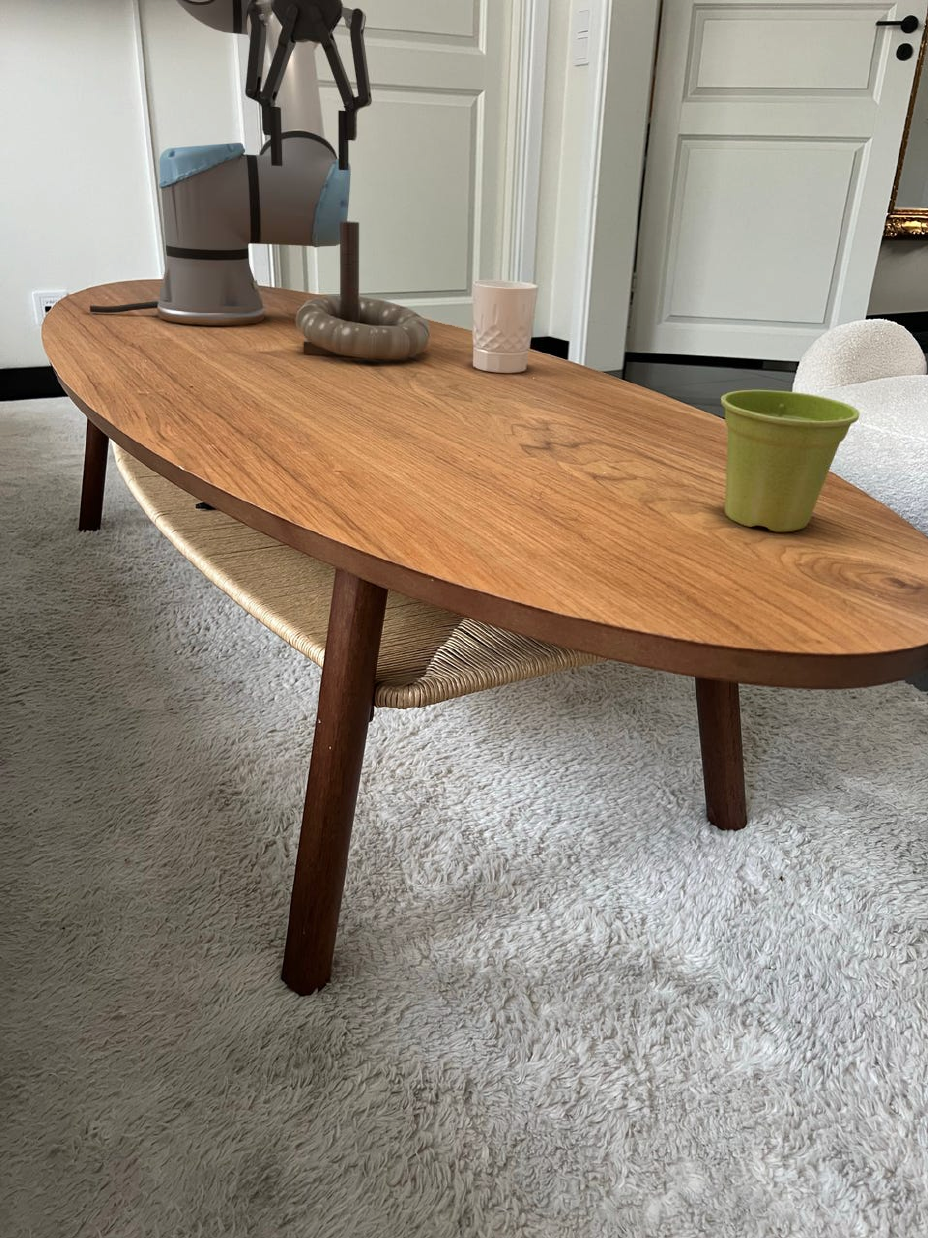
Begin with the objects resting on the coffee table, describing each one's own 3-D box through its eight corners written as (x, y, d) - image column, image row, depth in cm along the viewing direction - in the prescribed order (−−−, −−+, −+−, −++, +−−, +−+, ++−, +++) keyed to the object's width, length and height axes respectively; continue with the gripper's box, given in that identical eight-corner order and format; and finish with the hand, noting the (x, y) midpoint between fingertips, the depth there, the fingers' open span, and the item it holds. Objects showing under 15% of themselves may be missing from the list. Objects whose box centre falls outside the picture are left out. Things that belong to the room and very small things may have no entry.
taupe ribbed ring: (283, 349, 110) (285, 315, 107) (310, 314, 124) (312, 284, 122) (421, 372, 110) (426, 340, 108) (432, 335, 125) (436, 306, 123)
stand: (303, 353, 115) (300, 220, 108) (320, 340, 123) (318, 217, 117) (381, 359, 114) (383, 226, 107) (392, 345, 123) (395, 222, 116)
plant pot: (756, 548, 62) (783, 424, 59) (676, 503, 70) (695, 391, 66) (857, 535, 66) (889, 417, 62) (771, 493, 74) (794, 386, 70)
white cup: (543, 370, 114) (551, 286, 109) (502, 377, 109) (509, 289, 104) (496, 359, 118) (502, 278, 114) (455, 365, 113) (459, 281, 109)
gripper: (207, -66, 101) (220, 162, 111) (390, -56, 100) (386, 173, 110) (227, -52, 108) (238, 162, 118) (399, -42, 107) (395, 172, 117)
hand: (310, 167), depth 114 cm, fingers open, 8 cm apart
